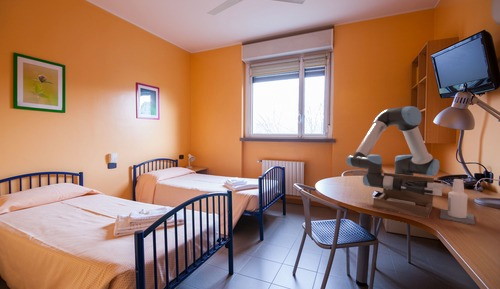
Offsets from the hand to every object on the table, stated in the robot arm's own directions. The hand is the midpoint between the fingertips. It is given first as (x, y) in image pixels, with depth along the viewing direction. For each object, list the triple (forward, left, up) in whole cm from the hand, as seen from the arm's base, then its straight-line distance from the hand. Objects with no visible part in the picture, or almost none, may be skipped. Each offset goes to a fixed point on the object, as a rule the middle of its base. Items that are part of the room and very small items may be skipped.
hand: (442, 190), depth 111 cm
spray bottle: (0, +6, -12) cm, 13 cm away
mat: (0, +6, -12) cm, 14 cm away
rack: (0, -16, -12) cm, 21 cm away
